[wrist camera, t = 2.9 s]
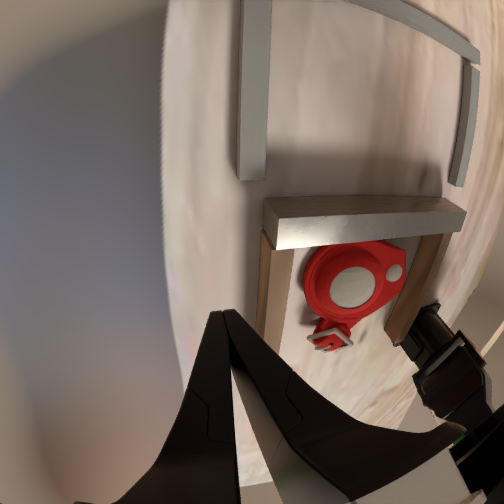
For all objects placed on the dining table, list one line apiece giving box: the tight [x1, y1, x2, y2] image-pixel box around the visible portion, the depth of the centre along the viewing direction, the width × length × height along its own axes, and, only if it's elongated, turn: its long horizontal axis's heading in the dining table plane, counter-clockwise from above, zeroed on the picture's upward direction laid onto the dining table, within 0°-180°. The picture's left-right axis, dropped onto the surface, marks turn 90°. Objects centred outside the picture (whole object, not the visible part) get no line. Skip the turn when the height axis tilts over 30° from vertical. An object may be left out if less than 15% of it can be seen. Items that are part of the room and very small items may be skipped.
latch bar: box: [263, 196, 467, 250], centre depth 19 cm, size 18×2×3 cm, turn 88°
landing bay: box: [236, 0, 480, 187], centre depth 15 cm, size 22×14×1 cm, turn 88°
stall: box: [256, 231, 453, 355], centre depth 24 cm, size 18×15×2 cm
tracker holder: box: [303, 239, 406, 353], centre depth 23 cm, size 12×4×10 cm
